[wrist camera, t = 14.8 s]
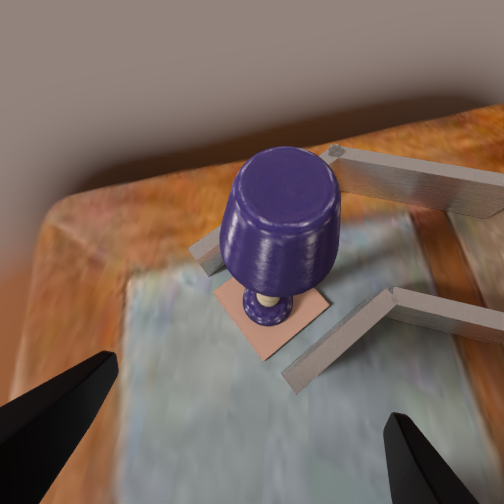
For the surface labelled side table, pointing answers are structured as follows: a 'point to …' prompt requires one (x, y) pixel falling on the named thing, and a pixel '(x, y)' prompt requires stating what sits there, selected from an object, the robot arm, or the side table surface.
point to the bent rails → (394, 299)
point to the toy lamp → (280, 229)
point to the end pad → (269, 337)
